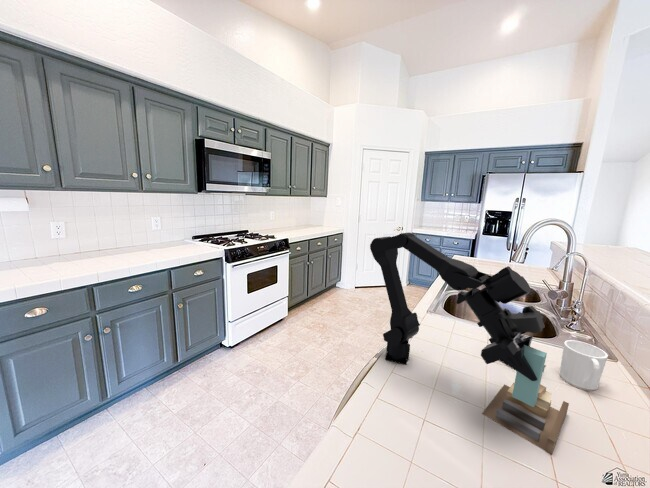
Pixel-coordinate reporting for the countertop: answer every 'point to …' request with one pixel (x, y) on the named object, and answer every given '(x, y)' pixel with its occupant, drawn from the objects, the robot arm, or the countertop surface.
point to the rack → (528, 417)
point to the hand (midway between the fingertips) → (536, 377)
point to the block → (524, 386)
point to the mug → (582, 364)
